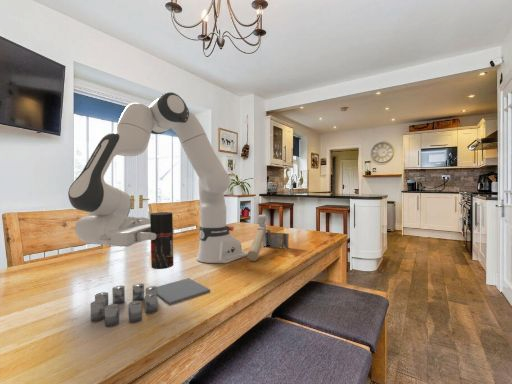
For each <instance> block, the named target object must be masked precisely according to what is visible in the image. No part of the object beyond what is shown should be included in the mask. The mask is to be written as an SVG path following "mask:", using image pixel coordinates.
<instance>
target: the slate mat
mask: <svg viewBox="0 0 512 384" xmlns="http://www.w3.org/2000/svg"><path fill="white" fill-rule="evenodd" d="M156 287H157V298H158V297H159V298H160V299H161V300H162V301H164V302H165V303H166V304H168V305H174V304H176V303H179V302H182V301H185V300H189V299H191V298H194V297H197V296H199V295H200V296H201V295H203V294H206V293H209V292H211V289H210V288H208V287H206V286H204V285H203V284H201V283H198V282H197V281H195V280H193V279H191V278H190V277H189V278H185V279H184V278H183V279H181V280H176V281H174V282H170V283H166V284H161V285H158V286H156Z"/></svg>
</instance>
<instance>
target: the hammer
mask: <svg viewBox="0 0 512 384" xmlns="http://www.w3.org/2000/svg"><path fill="white" fill-rule="evenodd" d="M266 221H267V216H266V214H259V215H257V222H258V226H257V231H256V233H255V235H254V238H253V240H252V243H251V246H250V248H249V250H248V253H247V256H246V257H247V259H248V260H249V261H251V262H257V261H258V258H259V256H260V252H261V249H262V246H265V247H264V248H266V232H267V231H266V229H267V225H266Z"/></svg>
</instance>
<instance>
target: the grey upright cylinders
mask: <svg viewBox="0 0 512 384" xmlns="http://www.w3.org/2000/svg"><path fill="white" fill-rule="evenodd" d="M131 287H132V301H131V302H129V303H128V305H127V306H128V309H127V310H128V323H130V324H136V323H139V322H141V321H142V320H143V301H144V313H145V314H147V315H148V314H149V315H150V314H155V313H157V312H158V308H159V307H158V306H159V305H158V299H159V298H158V296H157V286H156V285H150V286H147V287H146V288H145V284H144V283H142V282H140V283H135V284H132V286H131ZM125 288H126V287H125V285H117V286H113V287H112V294H111V295H112V303H111V304H109V292H105V291H104V292H103V291H102V292H99V293H96V294H95V295H94V301H92V302H90V304H89V305H90V308H89V309H90V322H91V323H99V322H102V321H104V326H105V327H106V328H113V327H116V326H118V325H119V323H120V305H121V304H123V303H125V302H126V300H125V299H126V296H125V295H126V291H125Z"/></svg>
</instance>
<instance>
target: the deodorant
mask: <svg viewBox="0 0 512 384" xmlns="http://www.w3.org/2000/svg"><path fill="white" fill-rule="evenodd" d="M149 217H150V218H149V219H150V225H151V232H157V233H158V239H155V240H150V257H151V258H150V260H151V263H150V264H151V269H154V270H165V269H169V268H172V267H174V233H173V229H174V227H173V226H174V225H173V224H174V223H173V222H174V221H173V219H174V218H173V212H168V211H163V212H162V211H161V212H160V211H159V212H152V213H150V216H149Z"/></svg>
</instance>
